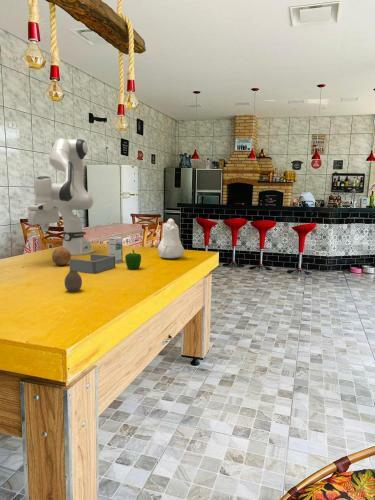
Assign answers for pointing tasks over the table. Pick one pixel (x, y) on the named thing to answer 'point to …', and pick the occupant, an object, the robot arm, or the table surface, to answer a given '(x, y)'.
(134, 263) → the bell pepper
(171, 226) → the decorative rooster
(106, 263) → the box
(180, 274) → the table surface
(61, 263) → the onion
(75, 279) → the vase
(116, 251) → the syrup box
